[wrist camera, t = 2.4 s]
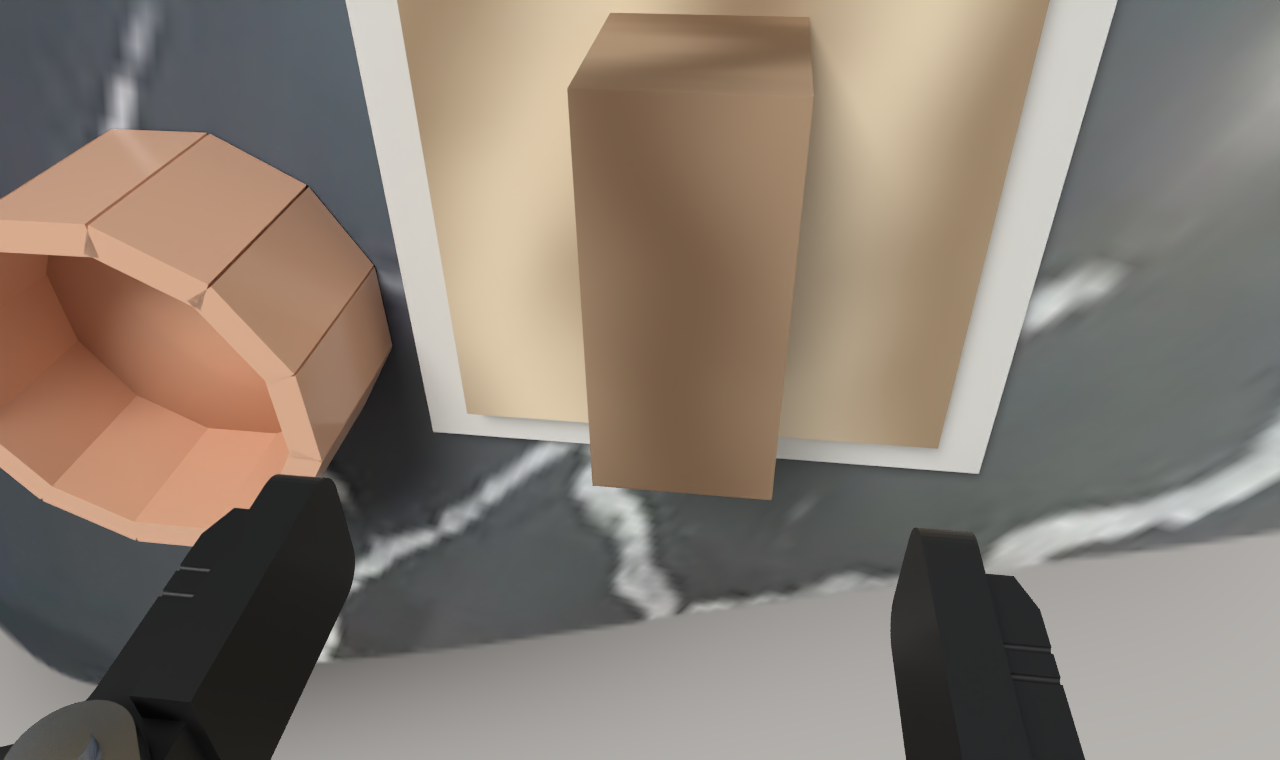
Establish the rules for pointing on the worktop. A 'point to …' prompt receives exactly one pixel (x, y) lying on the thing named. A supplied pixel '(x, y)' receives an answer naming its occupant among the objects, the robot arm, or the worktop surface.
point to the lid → (716, 215)
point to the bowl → (176, 332)
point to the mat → (982, 372)
